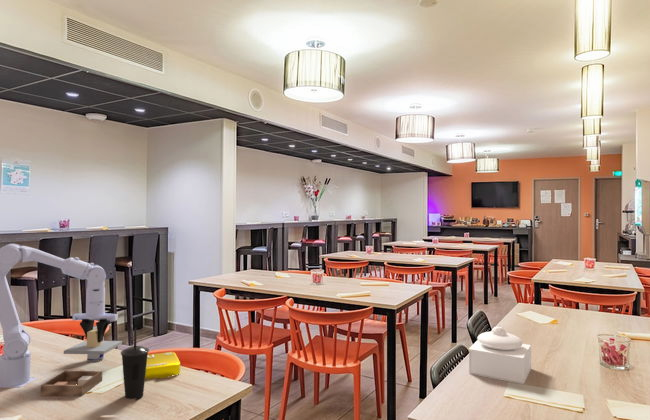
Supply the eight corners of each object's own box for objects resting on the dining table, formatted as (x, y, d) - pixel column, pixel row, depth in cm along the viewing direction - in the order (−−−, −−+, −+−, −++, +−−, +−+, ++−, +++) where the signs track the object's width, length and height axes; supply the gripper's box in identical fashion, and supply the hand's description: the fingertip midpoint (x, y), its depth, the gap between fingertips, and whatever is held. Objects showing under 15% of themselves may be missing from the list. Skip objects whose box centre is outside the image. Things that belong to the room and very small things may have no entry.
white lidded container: (531, 369, 158) (531, 324, 158) (523, 385, 143) (523, 336, 143) (480, 360, 167) (480, 318, 167) (468, 374, 152) (468, 328, 152)
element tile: (132, 384, 141) (132, 369, 141) (129, 369, 154) (129, 355, 155) (181, 376, 148) (181, 362, 148) (174, 362, 161) (174, 349, 161)
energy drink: (96, 363, 159) (97, 329, 159) (83, 361, 160) (84, 328, 160) (106, 358, 164) (107, 326, 164) (94, 357, 165) (94, 325, 165)
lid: (63, 353, 143) (64, 335, 143) (85, 343, 156) (85, 326, 156) (103, 354, 143) (104, 335, 143) (122, 343, 156) (122, 326, 156)
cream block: (77, 386, 136) (78, 379, 136) (83, 382, 139) (83, 375, 139) (87, 386, 136) (87, 379, 136) (92, 382, 139) (92, 376, 139)
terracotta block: (51, 393, 131) (51, 385, 131) (57, 389, 134) (57, 381, 134) (61, 393, 131) (61, 385, 131) (67, 389, 134) (67, 381, 134)
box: (40, 397, 129) (40, 385, 129) (64, 381, 141) (64, 370, 141) (81, 397, 129) (81, 385, 129) (102, 382, 141) (102, 371, 141)
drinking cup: (153, 393, 132) (154, 327, 133) (135, 404, 125) (136, 333, 125) (133, 390, 135) (134, 324, 135) (114, 400, 128) (115, 331, 128)
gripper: (67, 303, 146) (66, 344, 146) (111, 304, 146) (110, 345, 146) (79, 299, 153) (78, 338, 153) (121, 299, 153) (120, 339, 153)
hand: (95, 341), depth 150 cm, fingers closed on lid, 3 cm apart
